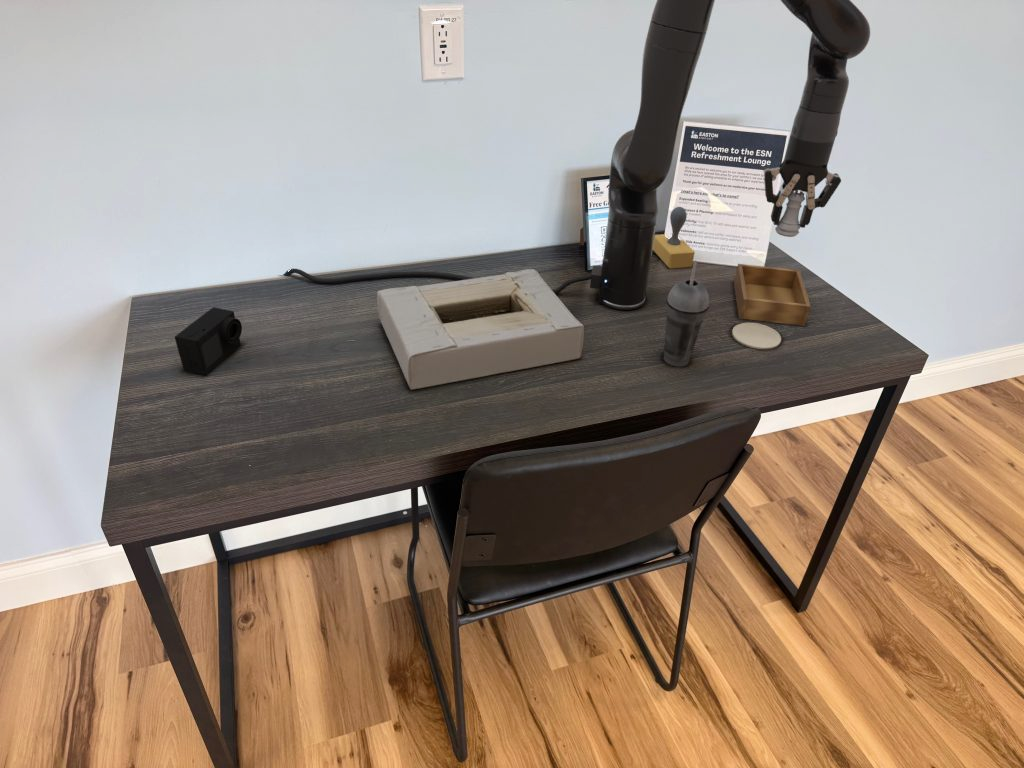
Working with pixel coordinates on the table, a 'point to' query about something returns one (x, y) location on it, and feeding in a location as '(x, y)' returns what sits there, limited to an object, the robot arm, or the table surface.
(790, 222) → the rook chess piece
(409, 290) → the box
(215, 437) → the table surface
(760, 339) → the coaster
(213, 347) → the digital camera
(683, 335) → the beverage cup
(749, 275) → the wooden tray
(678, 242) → the rubber stamp
